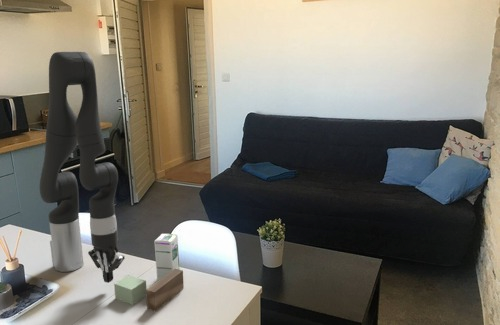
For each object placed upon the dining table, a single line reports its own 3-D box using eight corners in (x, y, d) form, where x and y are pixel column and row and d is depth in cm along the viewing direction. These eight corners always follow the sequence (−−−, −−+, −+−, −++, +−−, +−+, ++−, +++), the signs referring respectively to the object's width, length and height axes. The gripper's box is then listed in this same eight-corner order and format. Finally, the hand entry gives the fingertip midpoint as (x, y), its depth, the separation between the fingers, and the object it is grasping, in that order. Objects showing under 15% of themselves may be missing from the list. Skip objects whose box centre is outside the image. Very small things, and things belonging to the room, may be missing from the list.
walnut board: (147, 308, 123) (146, 289, 122) (175, 285, 135) (174, 268, 134) (155, 311, 122) (154, 292, 120) (183, 287, 134) (182, 270, 133)
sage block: (115, 298, 128) (114, 283, 127) (129, 289, 133) (128, 275, 132) (132, 305, 125) (131, 289, 124) (146, 295, 130) (145, 280, 129)
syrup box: (173, 283, 137) (171, 241, 133) (156, 281, 138) (153, 239, 134) (180, 274, 142) (178, 234, 139) (163, 273, 143) (161, 232, 140)
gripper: (77, 229, 127) (83, 282, 132) (111, 237, 122) (116, 292, 126) (96, 221, 134) (101, 271, 138) (129, 228, 128) (133, 280, 133)
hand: (108, 281), depth 132 cm, fingers closed
